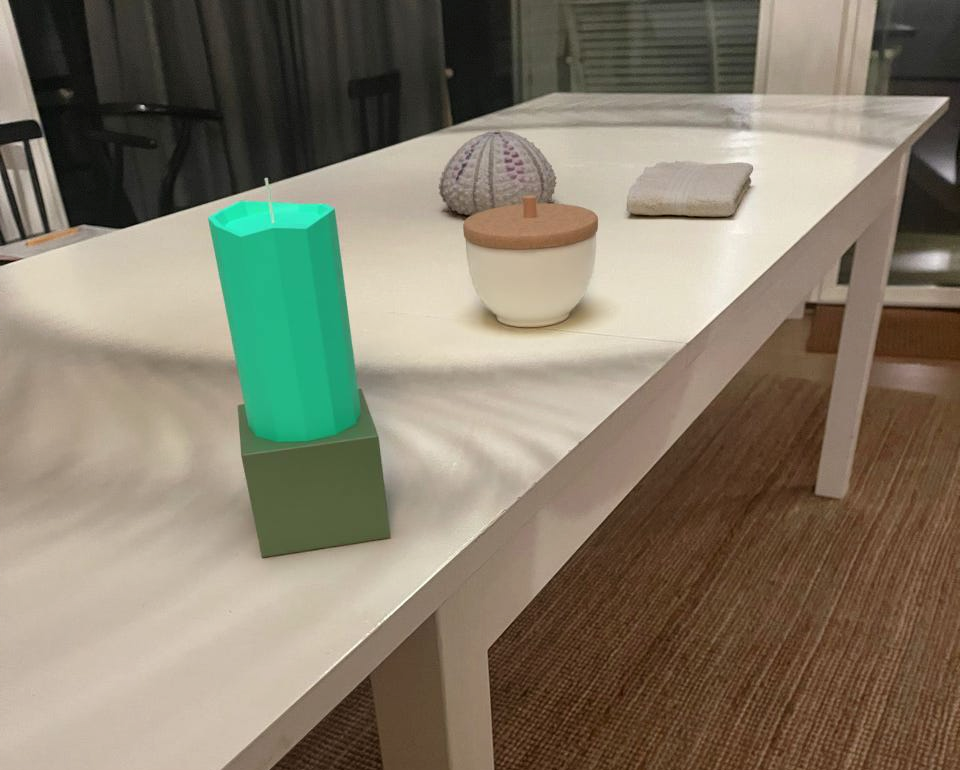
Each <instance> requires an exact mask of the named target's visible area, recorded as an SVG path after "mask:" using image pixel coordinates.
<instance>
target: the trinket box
mask: <svg viewBox="0 0 960 770" xmlns="http://www.w3.org/2000/svg"><path fill="white" fill-rule="evenodd" d="M598 229H599V217H598V215H597V214H596V212H594V211H592V210H591V209H587V208H585V207H582V206H578V205H572V204H564V203H548V202H547V203H537V204H536V196H534V195H528V196H524V197H523V204H519V205H510V206H503V207H497V208H492V209H488V210H485V211H481V212H478V213H476V214H474V215H471V216H468V217H466V219H465V220H464V222H463V225H462V230H463V237H464V239H465V250H466V251H465V252H466V263H467V267H468V273H469V276H470V279H471V283H472V286H473V288H474V290H475V293H476V295H477V296H478V298H479V299H480V301H481V302H482V303H483V305H484V306H485V307H486V308H487V309H488V310H489V311H490V312H491V313H493V314H494V315H495V316H496V317H495V319H496V320H497V322H499V323H501V324H503V325H505V326H510V327H516V328H540V327H548V326H553V325H556V324H559V323H561V322H564V321H565V320H567V319H568V318H569V317H570V312H572V310H573V309H574V308H576V306H577V305H579V303H580V302H581V300H582V299H583V298H584V296H585V295H586V293H587V291H588V289H589V286H590V284H591V281H592V279H593V274H594V270H595V263H596V254H597V232H598Z"/></svg>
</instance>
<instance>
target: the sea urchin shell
mask: <svg viewBox="0 0 960 770" xmlns="http://www.w3.org/2000/svg"><path fill="white" fill-rule="evenodd" d="M556 179H557V176H556V173H555V170H554V169H553V165H552V164H551V163H550V162H549V160H548V159H547V157H546V156H545V155H544V154H543V153H542V151H541V149H540V148H538V147H537V146H536V145H535V143H534V141H530V140H528V139H527V137H524V136H521V135H519V134H517V133H515V132H512V131H507V130H506V131H504V130H494V131H487V132H484V133H483V134H479V135H477V136H475V137H473V138H471V139H469V140H468V141H466V142H464V143H463V145H461V146H460V147H459V148H458V149H457V150H456V151H455V153H454V154H453V155H452V156H451V157H450V159H448V162H447V163H446V165H445V166H444V169H443V171H442V172H441V176H440V178H438V180H439V184H438V189H439V193H438V194H439V195H440V197H441V198H442V202H443V203H445V205H447V207H448V208H450V209H451V211H452V212H457V213H458V215H465V216H468V217H470V216H472V215H474V214H476V213H478V212H481V211H485V210H488V209H492V208H497V207H503V206H510V205H519V204H523V197H524V196H528V195H534V196H536V204H537V203H548V202H550V200H552V199H553V195H554V194H555V188H556V187H557V182H556Z"/></svg>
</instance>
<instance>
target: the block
mask: <svg viewBox="0 0 960 770" xmlns="http://www.w3.org/2000/svg"><path fill="white" fill-rule="evenodd" d="M358 393H359V401H360V408H361V414H360V416H359V418H358V420H357V422H356V424H355V425H353V426H351V427H349V428H348V429H346V430H344V431H342V432H340V433H338V434H337V435H333V436H329V437H324V438H320V439H316V440H311V441H305V442H276V441H272V440H269V439H265V438H261V437H258V436H256V435H255V434H254V433H253V431H252V430H251V428H250V427H249V425H248V420H247V415H246V410H245V405H244V403H242V404H238V405H237V417H238V431H239V432H238V433H239V442H240V444H239V445H240V456H241V462H242V467H243V471H244V476H245V481H246V487H247V491H248V492H247V493H248V497H249V501H250V506H251V510H252V515H253V521H254V526H255V532H256V535H257V540H258V545H259V551H260V556H261V558H269V557H275V556H280V555H281V556H282V555H288V554H293V553H301V552H306V551H313V550H318V549H319V550H320V549H325V548H333V547H339V546H346V545H351V544H357V543H358V544H359V543H363V542H372V541H377V540H384V539H390V538H391V530H390V522H389V521H390V520H389V513H388V503H387V495H386V488H385V478H384V469H383V462H382V453H381V444H380V437H379V436H380V435H379V434H378V431H377V428H376V425H375V423H374V420H373V417H372V414H371V411H370V408H369V406H368V403H367V400H366V397H365V394H364V391H363V389H362V388H358Z"/></svg>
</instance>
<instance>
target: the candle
mask: <svg viewBox="0 0 960 770" xmlns="http://www.w3.org/2000/svg"><path fill="white" fill-rule="evenodd" d="M264 184H265V190H266V195H267V201H260V200H259V201H257V200H239V201H237V202H234V203H233V204H230V205H228V206H226V207H224V208H221V209H220V210H218V211H216V212H215V213H213V214H211V215H210V216H208V217H207V220H208V225H209V231H210V236H211V241H212V245H213V246H212V247H213V251H214V256H215V261H216V267H217V271H218V277H219V282H220V287H221V291H222V297H223V302H224V308H225V312H226V317H227V322H228V327H229V334H230V338H231V344H232V348H233V353H234V359H235V364H236V368H237V373H238V379H239V383H240V390H241V394H242V399H243V404H244V405H245V410H246V415H247V420H248V425H249V427H250V428H251V430H252V431H253V433H254V434H255V435H256V436H258V437H261V438H265V439H269V440H272V441H276V442H305V441H311V440H316V439H320V438H324V437H329V436H333V435H337V434H338V433H340V432H342V431H344V430H346V429H348V428H349V427H351V426H353V425H355V424H356V422H357V420H358V418H359V416H360V414H361V408H360V401H359V393H358V389H359V386H358V379H357V371H356V363H355V354H354V347H353V339H352V332H351V324H350V323H351V322H350V315H349V307H348V302H347V301H348V300H347V293H346V285H345V276H344V270H343V269H344V268H343V261H342V254H341V245H340V239H339V230H338V223H337V216H336V215H337V214H336V208H335V207H333V206H330V205H329V204H327V203H297V202H280V201H272V196H271V189H270V184H269V178H268V177H265V178H264Z"/></svg>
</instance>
